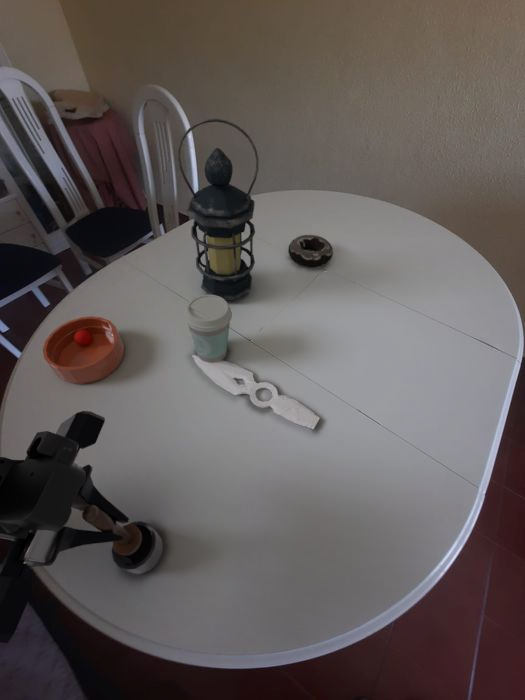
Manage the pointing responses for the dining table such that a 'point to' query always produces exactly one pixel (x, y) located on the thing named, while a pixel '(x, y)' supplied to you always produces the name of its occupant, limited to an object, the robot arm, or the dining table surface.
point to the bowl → (84, 350)
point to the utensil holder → (141, 551)
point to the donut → (313, 258)
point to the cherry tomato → (82, 337)
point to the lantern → (222, 224)
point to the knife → (280, 404)
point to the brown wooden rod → (114, 530)
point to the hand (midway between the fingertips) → (124, 529)
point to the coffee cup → (209, 326)
